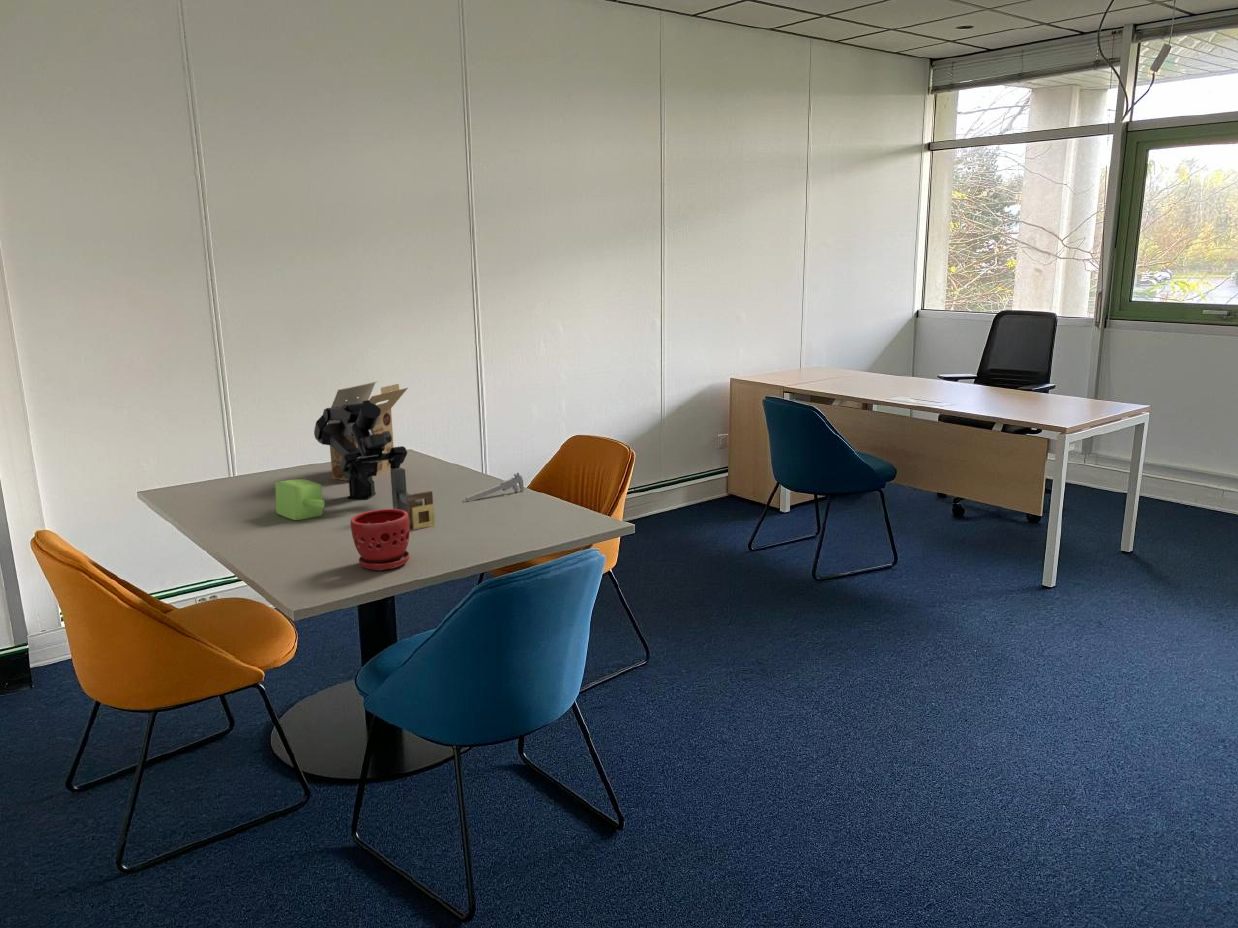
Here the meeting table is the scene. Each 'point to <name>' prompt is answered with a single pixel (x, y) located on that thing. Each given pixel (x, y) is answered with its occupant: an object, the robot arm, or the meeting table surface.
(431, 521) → the frame
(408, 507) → the plate
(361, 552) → the plant pot
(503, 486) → the caliper
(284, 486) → the gearbox
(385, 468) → the box
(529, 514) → the meeting table surface
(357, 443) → the robot arm
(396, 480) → the steel shaft
